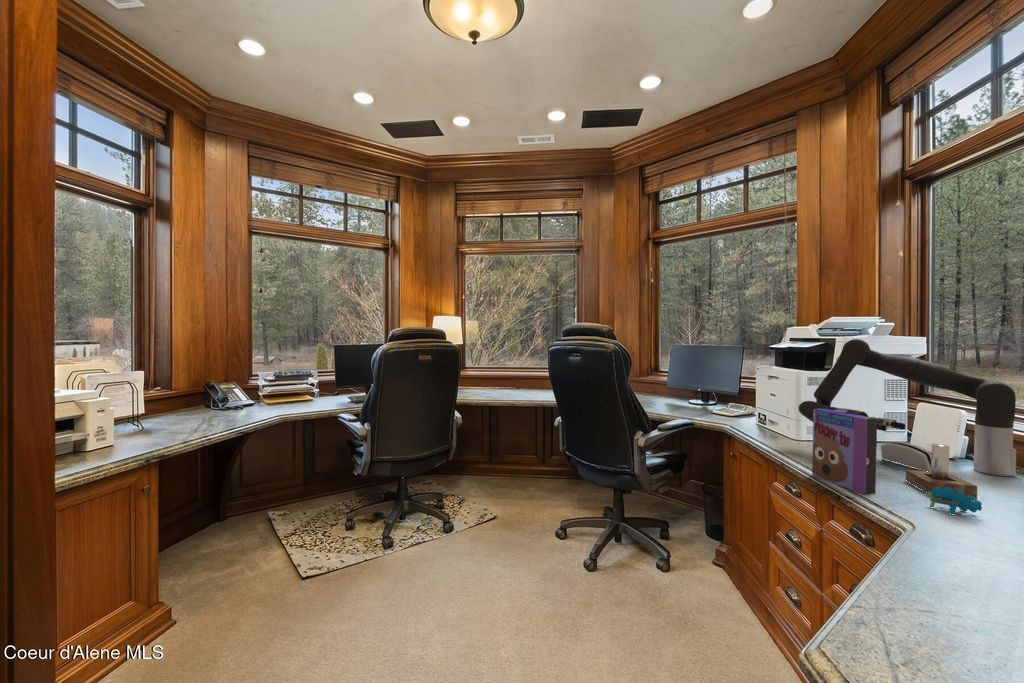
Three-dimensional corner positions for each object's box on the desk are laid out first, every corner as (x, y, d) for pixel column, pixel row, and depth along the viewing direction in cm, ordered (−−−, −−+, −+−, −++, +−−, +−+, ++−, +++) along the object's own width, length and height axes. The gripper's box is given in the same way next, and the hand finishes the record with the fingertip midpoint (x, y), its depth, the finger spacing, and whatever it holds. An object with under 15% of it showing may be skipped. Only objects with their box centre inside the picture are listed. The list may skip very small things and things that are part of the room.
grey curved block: (941, 472, 154) (934, 447, 153) (931, 477, 153) (925, 452, 152) (891, 458, 170) (885, 436, 169) (882, 463, 169) (876, 440, 168)
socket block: (950, 485, 140) (950, 473, 140) (977, 498, 129) (977, 486, 129) (905, 481, 144) (905, 469, 144) (927, 494, 133) (928, 481, 133)
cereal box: (812, 476, 149) (813, 408, 149) (822, 475, 150) (824, 408, 150) (863, 494, 132) (865, 418, 132) (875, 493, 133) (877, 417, 133)
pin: (942, 486, 138) (944, 444, 138) (951, 491, 134) (952, 447, 134) (927, 485, 139) (928, 443, 139) (935, 489, 135) (936, 446, 135)
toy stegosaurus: (990, 512, 116) (972, 489, 114) (985, 530, 114) (967, 507, 112) (938, 502, 126) (921, 481, 124) (932, 519, 124) (915, 497, 122)
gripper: (835, 410, 165) (879, 417, 149) (864, 408, 168) (910, 415, 152) (835, 429, 165) (879, 439, 149) (864, 427, 168) (910, 436, 152)
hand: (895, 427), depth 151 cm, fingers open, 8 cm apart
